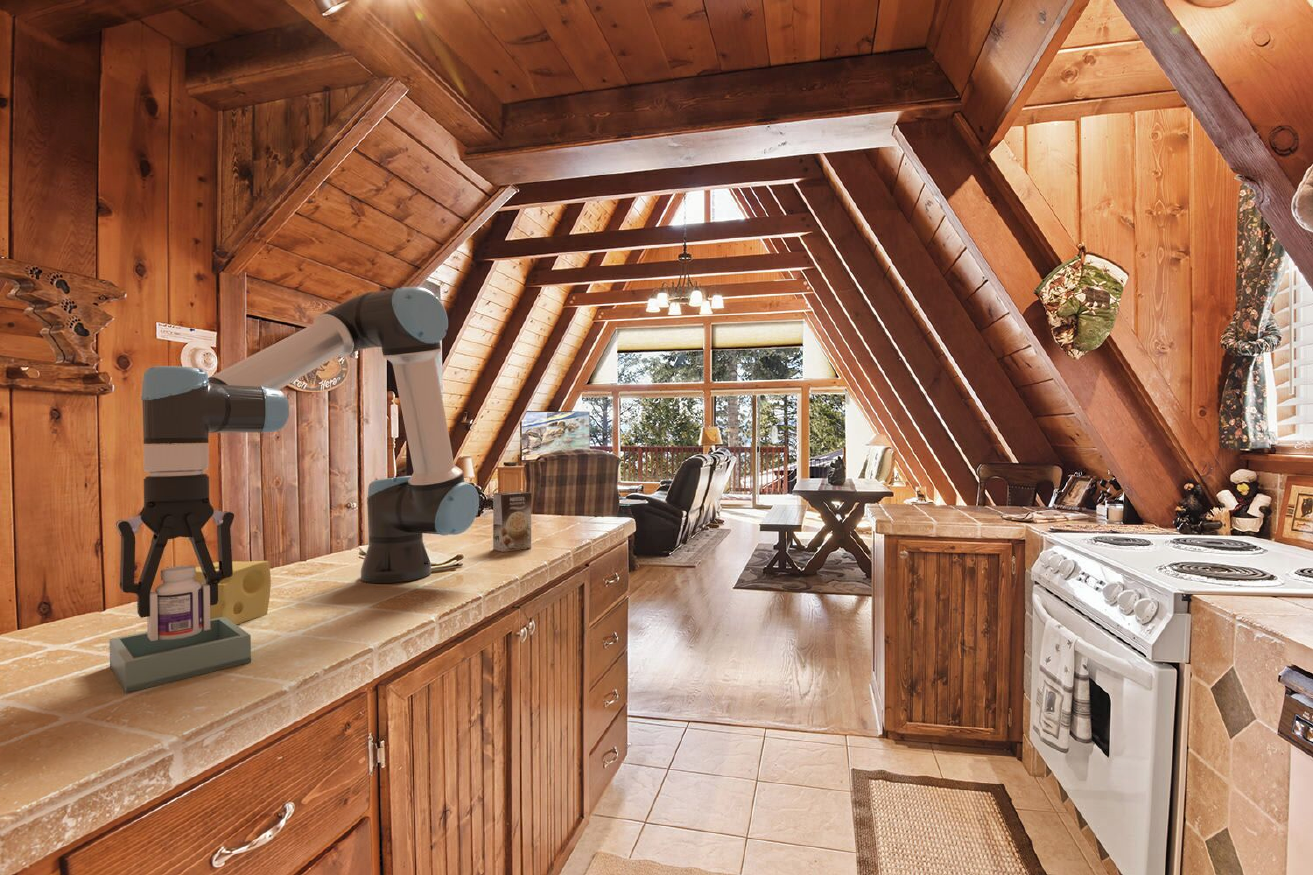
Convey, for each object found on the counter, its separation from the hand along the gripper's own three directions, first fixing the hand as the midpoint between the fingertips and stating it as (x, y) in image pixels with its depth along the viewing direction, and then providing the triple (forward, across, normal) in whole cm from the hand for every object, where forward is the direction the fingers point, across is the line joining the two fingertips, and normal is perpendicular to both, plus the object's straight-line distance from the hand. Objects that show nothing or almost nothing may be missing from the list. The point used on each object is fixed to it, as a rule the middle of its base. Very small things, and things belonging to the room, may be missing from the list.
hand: (179, 632), depth 90 cm
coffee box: (+5, -83, -37) cm, 91 cm away
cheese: (+5, -10, -21) cm, 24 cm away
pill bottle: (+1, 0, 0) cm, 1 cm away
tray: (+5, 0, 0) cm, 5 cm away
